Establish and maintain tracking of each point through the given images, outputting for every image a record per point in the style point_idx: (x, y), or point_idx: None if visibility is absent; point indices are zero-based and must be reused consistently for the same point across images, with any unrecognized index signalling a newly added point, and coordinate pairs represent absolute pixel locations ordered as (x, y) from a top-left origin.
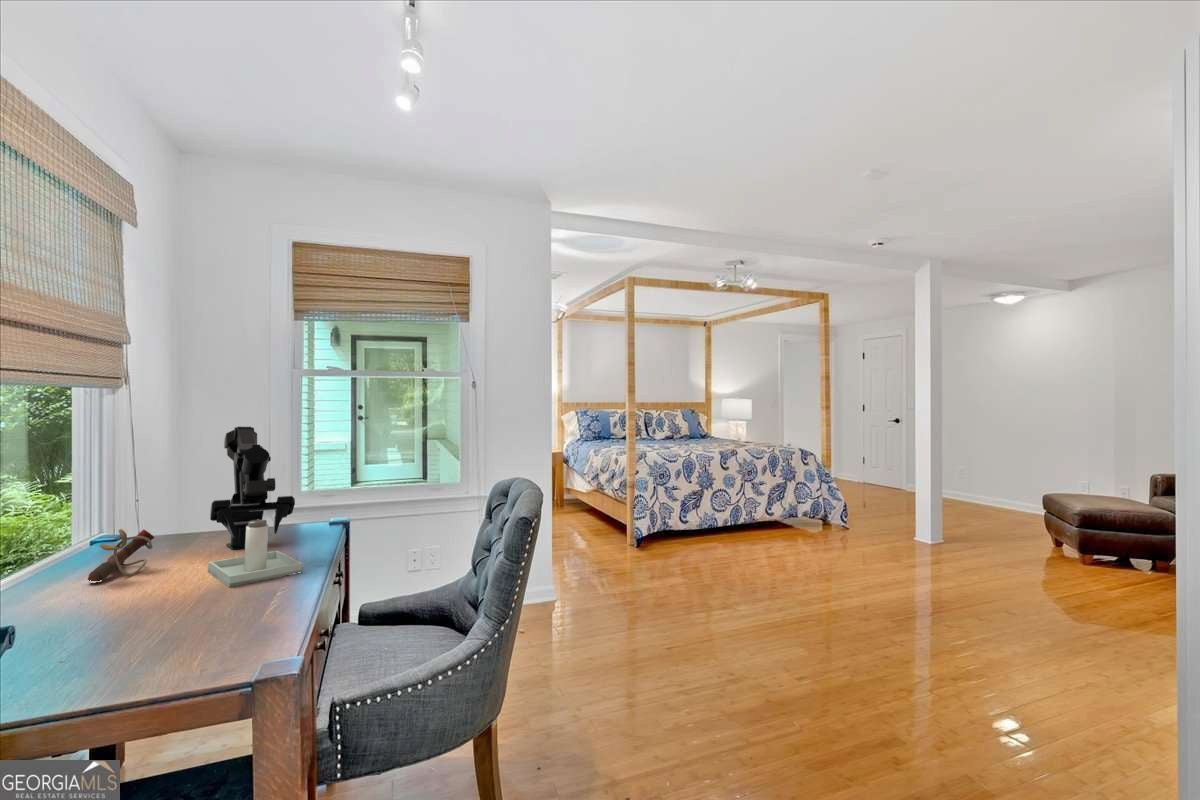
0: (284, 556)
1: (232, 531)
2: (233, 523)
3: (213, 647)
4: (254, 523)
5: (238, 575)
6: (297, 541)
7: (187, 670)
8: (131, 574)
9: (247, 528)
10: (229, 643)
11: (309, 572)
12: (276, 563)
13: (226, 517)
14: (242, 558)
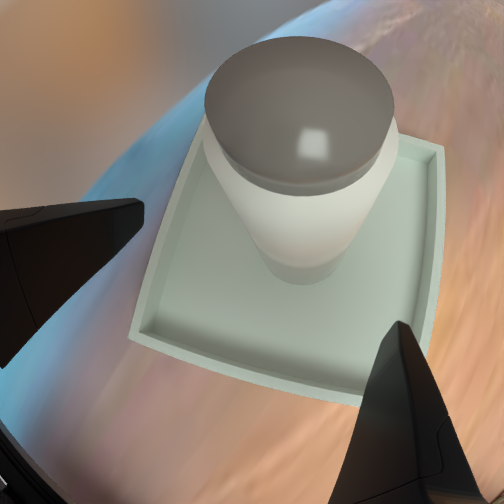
0: (167, 236)
1: (418, 347)
2: (416, 403)
3: (477, 13)
4: (358, 59)
5: (419, 140)
6: (21, 445)
7: (493, 9)
8: (498, 500)
9: (394, 133)
10: (462, 7)
11: (202, 116)
12: (203, 251)
13: (472, 490)
14: (278, 377)
